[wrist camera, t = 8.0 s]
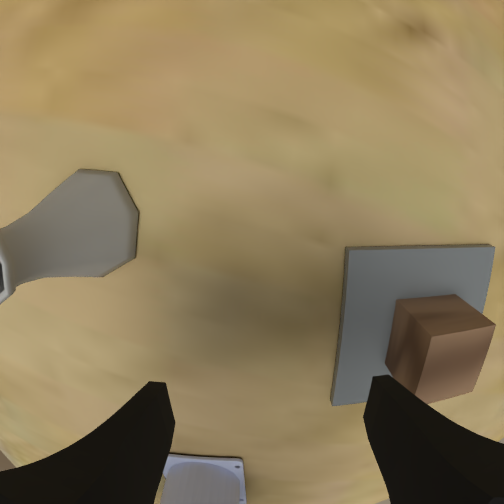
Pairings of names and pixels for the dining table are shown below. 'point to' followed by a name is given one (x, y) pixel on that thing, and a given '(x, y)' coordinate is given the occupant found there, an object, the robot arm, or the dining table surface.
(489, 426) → the dining table surface
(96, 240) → the flask
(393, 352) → the walnut cube
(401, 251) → the coaster
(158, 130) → the dining table surface
